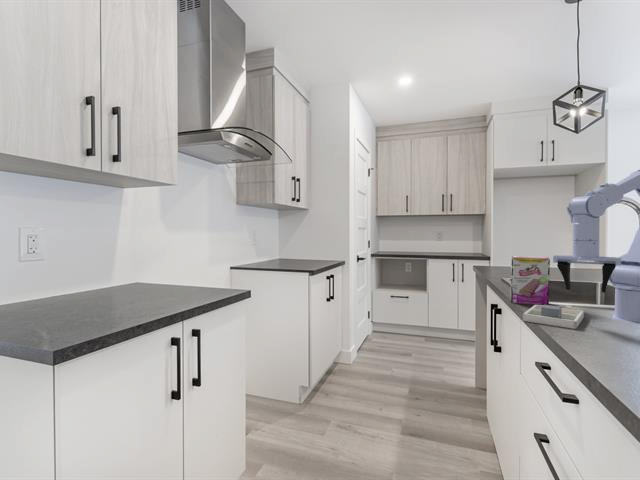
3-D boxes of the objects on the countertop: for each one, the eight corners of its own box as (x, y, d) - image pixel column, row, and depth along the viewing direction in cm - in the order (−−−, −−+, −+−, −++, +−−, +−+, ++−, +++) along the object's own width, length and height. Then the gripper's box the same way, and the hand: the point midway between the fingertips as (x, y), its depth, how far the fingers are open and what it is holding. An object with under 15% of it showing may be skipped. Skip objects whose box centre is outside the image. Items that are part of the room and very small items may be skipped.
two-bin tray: (535, 312, 107) (535, 304, 107) (583, 319, 99) (583, 310, 98) (522, 322, 96) (523, 313, 96) (576, 331, 88) (576, 321, 88)
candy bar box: (510, 304, 118) (511, 257, 117) (510, 301, 122) (510, 255, 122) (549, 307, 113) (550, 257, 112) (547, 304, 117) (548, 256, 116)
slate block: (544, 318, 98) (544, 304, 97) (561, 321, 95) (561, 306, 95) (541, 321, 95) (541, 307, 94) (558, 324, 92) (558, 309, 92)
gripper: (550, 240, 95) (550, 289, 95) (620, 241, 85) (619, 295, 85) (555, 239, 100) (555, 286, 101) (622, 240, 90) (621, 291, 91)
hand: (585, 290), depth 93 cm, fingers open, 7 cm apart
